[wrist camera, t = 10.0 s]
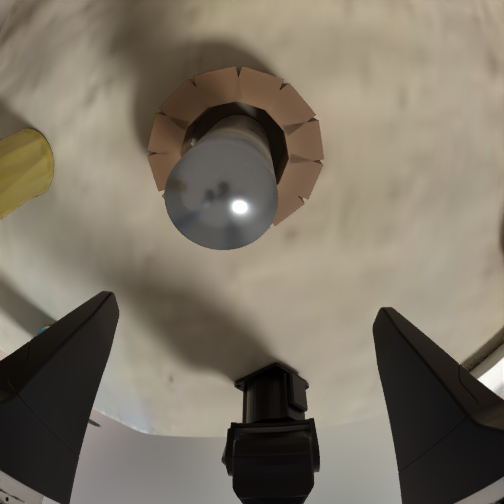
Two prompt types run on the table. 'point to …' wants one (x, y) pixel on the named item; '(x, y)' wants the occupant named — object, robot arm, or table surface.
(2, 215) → the vase
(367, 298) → the table surface
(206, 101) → the bead ring
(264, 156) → the grey metal cylinder
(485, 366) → the salad plate
